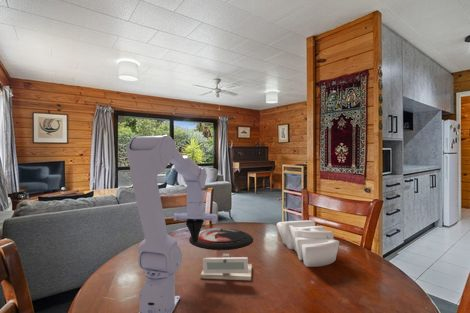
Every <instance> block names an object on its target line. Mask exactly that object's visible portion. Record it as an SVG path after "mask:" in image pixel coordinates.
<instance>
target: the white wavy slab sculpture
mask: <svg viewBox="0 0 470 313" xmlns="http://www.w3.org/2000/svg"><path fill="white" fill-rule="evenodd" d="M276 227H277V230H278V232H279V235H280V238H281V241H282V244H284V245H285V246H286V248H287V249H289V250H294V251H295V252H296V253H297V257H298V260H299V261H303V265H304V266H305V267H306V268H310V267H311V268H313V267H317V268H318V267H323V266H324V267H325V266H328V265H330V264H333V263H334V262H335V261H336V259H337V255H338V250H339V246H340V245H339V244H340V241H339V240H337V239H334V235H335V234H334V232H333V231H331V230H326V228H325V227H324V226H321V225H316V222H315V221H314V220H312V219H309V220H291V221H290V220H289V221H278V222H277V223H276Z"/></svg>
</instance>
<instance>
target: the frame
mask: <svg viewBox="0 0 470 313" xmlns="http://www.w3.org/2000/svg"><path fill="white" fill-rule="evenodd" d="M248 260H249V258H248V256H246V257H245V256H241V257H240V256H239V257H237V256H236V257H235V256H234V257H232V256H231V257H230V256H229V257H228V258H223V257H203V258H202V268H203V269H202V271H203V273H204V274H210V273H248V264H249V261H248Z"/></svg>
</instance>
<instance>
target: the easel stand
mask: <svg viewBox="0 0 470 313" xmlns="http://www.w3.org/2000/svg"><path fill="white" fill-rule="evenodd" d="M228 257H230V253H222V258H228ZM252 264H253V263H248V273H210V274H204V273H203V270H201V273H200V279H207V280H208V279H209V280H210V279H211V280H213V279H214V280H233V281H235V280H236V281H252V268H253V265H252Z"/></svg>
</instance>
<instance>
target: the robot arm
mask: <svg viewBox="0 0 470 313" xmlns="http://www.w3.org/2000/svg"><path fill="white" fill-rule="evenodd" d="M125 151H126V156H127V161H128V165H129V166H128V167H129V169H130V170H129V171H130V180H131V184H132V187H133V188H132V189H133V192H134V196H135V202H136V205H137V210H138V214H139V219H140V223H141V228H142V231H143V236H144V239H143V240H142V241H141V242H140V243H139V245H138V247H137V251H138V257H137V263H138V264H137V265H138V267H139V268H140V269H141V270H142V274H144V275H145V280H144V284H143V285H142V286H141V289H140V291H139V294H138V296H139V297H138V298H139V299H138V300H139V306H138V307H139V308H138V309H139V312H138V313H174V312H173V311H174V310H175V308H176V307H177V305H178V303H179V300H180V299H181V296H180V295H176V289H175V288H176V276H175V274H176V272H178V270H179V269H180V268H181V267H180V266H181V264H182V261H183V252H182V249H181V248H180V247H179V245H178V240H177V239H175V238H174V237H172V236H171V234H168V230H167V229H168V228H167V225H166V218H165V215H164V208H163V204H162V200H161V193H160V188H159V184H158V179H157V178H158V175H159V174H161V173H163V172H164V171H165V170H166V168H167V167H168V165H169V164H171V165H173V166H174V170H175V172H177V173H178V174H180V175H181V177H182V178H183V181H184V183H185V184H186V212H181V213H180V212H179V213H177V212H175V213H174V214H173V221H186V222H185V226H186V227H187V229H188V230H189V233H190V237H192V241H193V242H197V241H198V237H199V233H200V231H201V229H202V226H203V224H204V222H205V221H212V222H217V220H218V214H217V213H207V212H205V209H204V208H205V204H204V203H205V202H204V201H205V200H204V197H205V192H204V191H205V190H204V189H205V188H206V180H207V177H208V175H207V170H206V168H205V167H204V166H199V165H198V164H197V163H196V162H195V161H193V159H191V157H190V155H182V154H181V152H180V151H179V150H178V149H177V146H176V141H175V139H173V138H172V137H171V135H169V134H163V135H148V136H147V135H144V136H140V135H135V136H133V137H131V139H130V140H129V141H128V144H127V146H126V147H125Z"/></svg>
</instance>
